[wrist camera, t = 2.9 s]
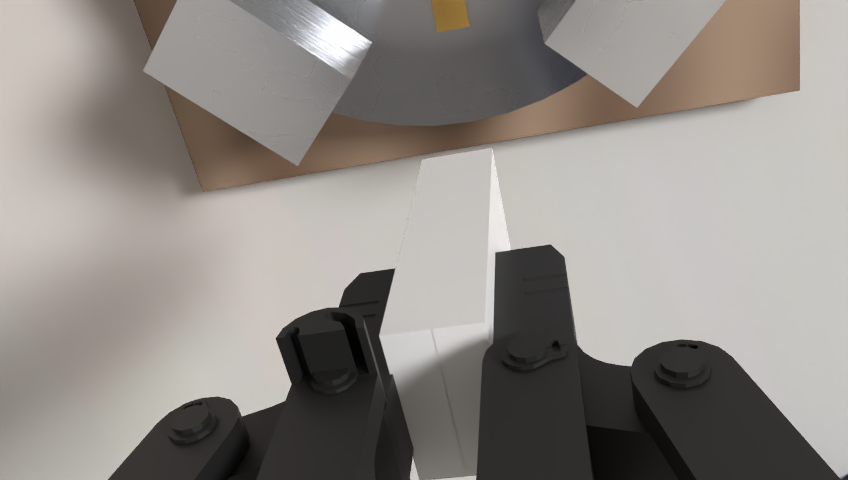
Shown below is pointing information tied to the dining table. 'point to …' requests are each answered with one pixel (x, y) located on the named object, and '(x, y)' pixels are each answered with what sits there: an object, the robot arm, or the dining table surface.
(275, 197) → the dining table surface
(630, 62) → the notched metal disc
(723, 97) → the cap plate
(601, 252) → the dining table surface
